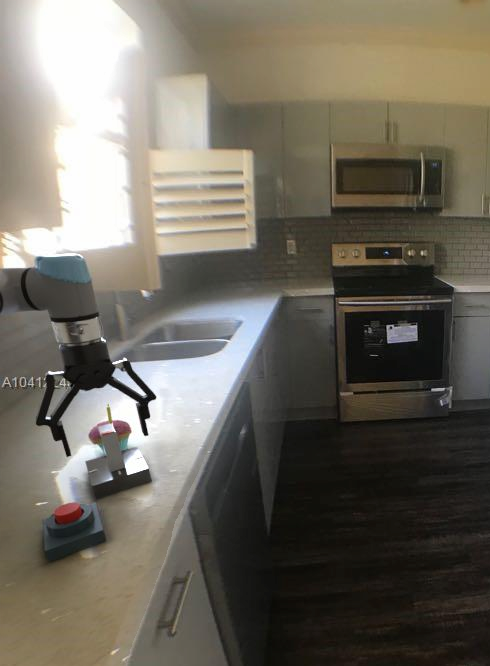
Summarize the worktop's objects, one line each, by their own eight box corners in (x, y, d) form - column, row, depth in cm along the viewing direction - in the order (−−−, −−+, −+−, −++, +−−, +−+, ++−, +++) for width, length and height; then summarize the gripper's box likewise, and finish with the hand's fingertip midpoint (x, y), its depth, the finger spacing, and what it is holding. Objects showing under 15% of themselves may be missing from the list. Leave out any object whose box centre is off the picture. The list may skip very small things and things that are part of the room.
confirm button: (56, 516, 77) (53, 507, 76) (81, 508, 79) (78, 499, 78) (57, 527, 74) (54, 518, 73) (83, 518, 76) (80, 509, 75)
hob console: (88, 473, 97) (84, 460, 95) (140, 458, 102) (137, 445, 101) (95, 499, 87) (91, 485, 86) (152, 481, 93) (148, 467, 92)
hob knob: (107, 461, 95) (97, 425, 92) (121, 457, 96) (111, 421, 94) (111, 472, 91) (100, 435, 88) (125, 467, 92) (115, 431, 89)
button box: (46, 530, 79) (39, 510, 78) (99, 512, 84) (93, 493, 82) (48, 562, 72) (41, 541, 70) (106, 540, 76) (100, 520, 75)
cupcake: (143, 445, 108) (132, 398, 103) (110, 462, 101) (96, 412, 96) (119, 439, 111) (106, 393, 107) (85, 455, 104) (70, 407, 100)
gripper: (-5, 358, 75) (32, 471, 82) (159, 333, 88) (178, 432, 96) (-4, 349, 80) (32, 455, 88) (150, 326, 94) (169, 420, 102)
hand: (108, 443), depth 92 cm, fingers open, 13 cm apart
